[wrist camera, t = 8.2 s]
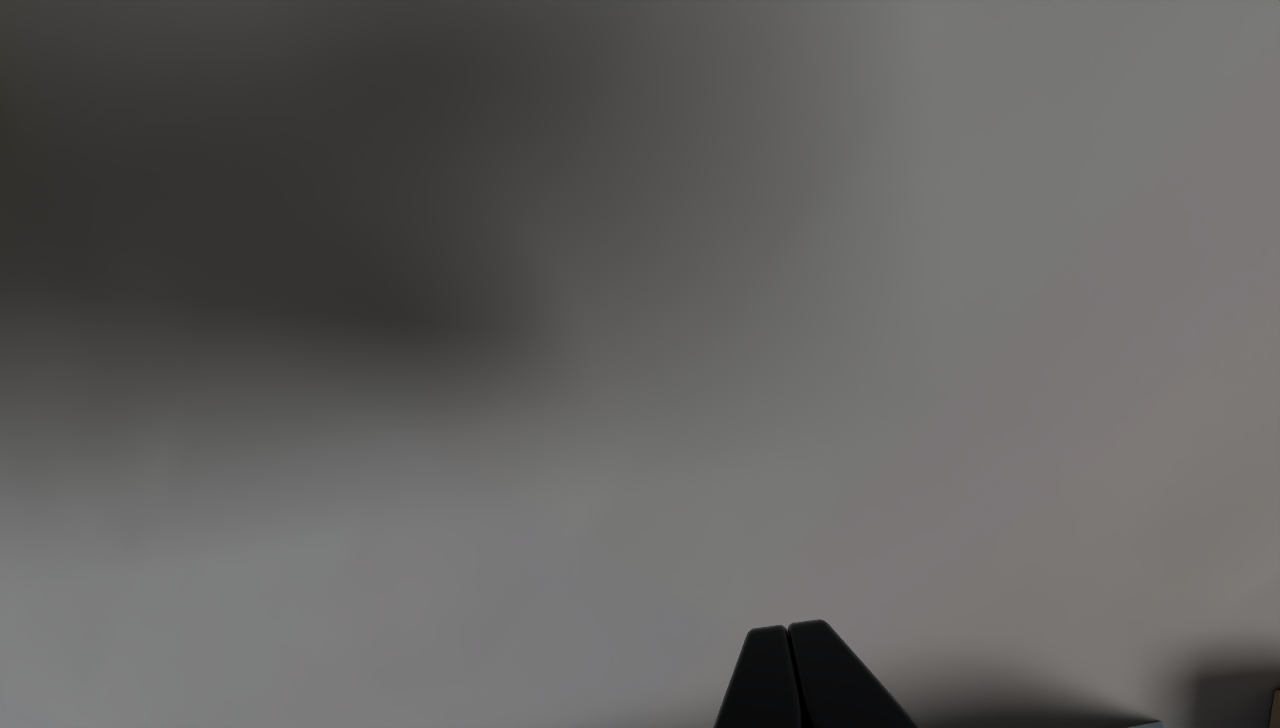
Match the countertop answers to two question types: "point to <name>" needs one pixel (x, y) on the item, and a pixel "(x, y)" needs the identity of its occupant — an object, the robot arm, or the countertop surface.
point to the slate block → (1151, 725)
